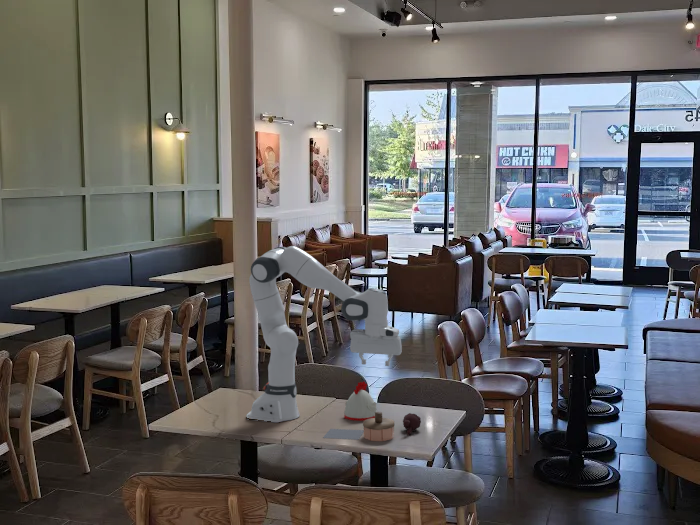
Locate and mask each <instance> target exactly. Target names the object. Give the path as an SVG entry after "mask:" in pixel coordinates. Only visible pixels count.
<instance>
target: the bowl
mask: <svg viewBox="0 0 700 525" xmlns="http://www.w3.org/2000/svg"><path fill="white" fill-rule="evenodd" d="M363 430H364V433H363V438H364V439H366V440H368V441H371V442H385V441H391V440H392V439H393V438H394V437H395V426H394V427H392V428H389V429H383V430H373V429H368V428H365V427H364V426H363Z"/></svg>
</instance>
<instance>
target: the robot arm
mask: <svg viewBox="0 0 700 525" xmlns="http://www.w3.org/2000/svg"><path fill="white" fill-rule="evenodd" d="M285 273H288V275H290V276H291V277H293V278H294V279H295V280H297V281H298V282H299V283H301V284H302V285H304V286H306V287H307V288H310V289H320V290H325V291H327V292H330V293H331V294H332V295H334V296H336V297H337V298H338V299H340V300H341V301H343V302H342V303H341V308H340V310H341V314H342V316H343V317H344V318H345V319H346V320H348V321H351V322H357V321H361V320H364V324H365V325H364V329H363V328H360V329H358V328H354V329H352V330H351V331H350V333H349V334H350V335H349V338H350V339H351V340H350V345H349V346H350V348H349V349H350V352H351V353H355V354H358V356H359V359H360V360H361V365H366V364H367V359H365V358H364V354H368V355H369V354H371V355H387V357H388V360H386V361H384V362H385V363H384V365H385V367H389V366H390V365H391V362H390V361H391V360H392V358H393V357H394V356H400V355H401V354H402V350H403V346H402V339H401V337H400V335H399V334H400V330H399V329H398V328H396V327H393V326H390V325H388V324H389V323H388V322H389V321H388V313H389V301H388V299H389V298H388V295H387V293H386V291H385V290H383V289H379V288H376V287H375V288H373V287H372V288H371V287H370V288H368V289H366V290H365V291H362V292H360V291H357V290H355V289H354V288H353V287H351V285H349V284H347V283H346V282H344V281H343V280H342V279H340V278H338V277H337V276H336V275H334V274H333V273H332V272H331V271H330V270H329V269H327V267H325V266H324V265H323V264H322V263H320V262H319V261H318V260H317V259H316V258H315V257H314V256H312V255H311V254H309V253H308V252H306V251H305V250H304V249H301V248H299V247H298V246H294V245H290V246H287V247H286V246H278V247H274V248H273V249H270V250H268V251H266V252H265V253H263V254H262V255H260V257H258V258H256V259H255V260H254V261H253V262H252V264H251V266H250V275H249V279H248V281H249V288H250V293H251V295H252V297H251V298H252V300H253V303H254V305H255V308H256V312H257V315H258V317H259V323H260V327H261V331H262V337H263V340H264V342H265V345H266V346H268V347H269V348H270V357H269V363H268V365H267V370H268V382H267V383H266V384H265V385H264V386H263V390H264V392H263V393H262V394H261V395H260V396H259V397H257V398H256V399H255V400H254V401H253V403H252V404H251V409H250V410H251V411H249V412H248V413H247V414H246V417H247V418H251V419H258V420H264V421H263V422H267V421H271V422H270V423H279V422H285V421H291V420H295V419H297V418H299V417H300V411H299V408H298V403H297V384H296V381H295V380H296V379H295V378H296V377H295V372H296V371H295V370H296V369H295V364H296V363H295V361H296V355H297V349H298V346H299V338H298V336H297V333H296V332H295V330H293V329H292V328H290V327H289V326H288V325H287V321H286V315H285V307H284V303H283V301H282V297H281V294H280V290H279V288H278V285H277V278H279V277H281V276H282V275H283V274H285ZM246 417H245V418H246ZM258 420H257V421H258Z"/></svg>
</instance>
